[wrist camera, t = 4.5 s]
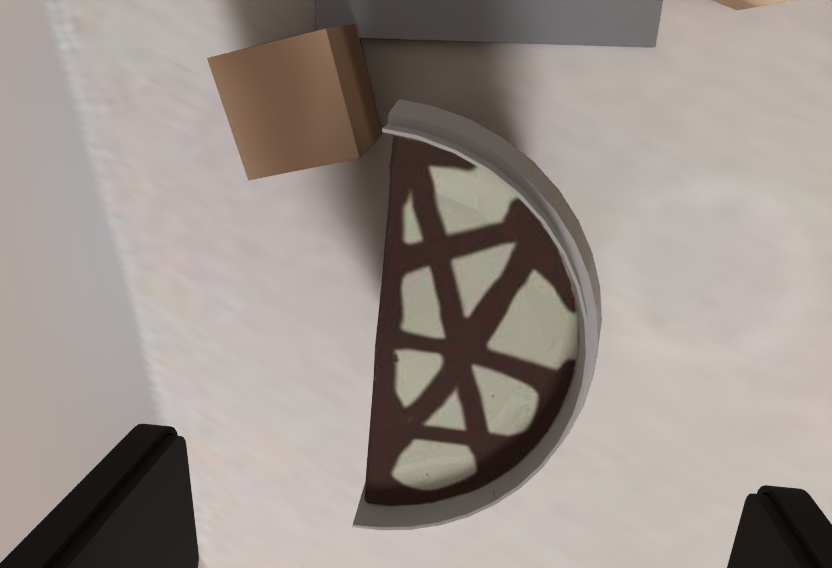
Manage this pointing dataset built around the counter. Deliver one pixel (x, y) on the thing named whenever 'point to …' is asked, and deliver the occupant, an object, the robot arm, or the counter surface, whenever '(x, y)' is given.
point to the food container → (472, 324)
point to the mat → (499, 20)
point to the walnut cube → (298, 101)
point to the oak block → (747, 3)
